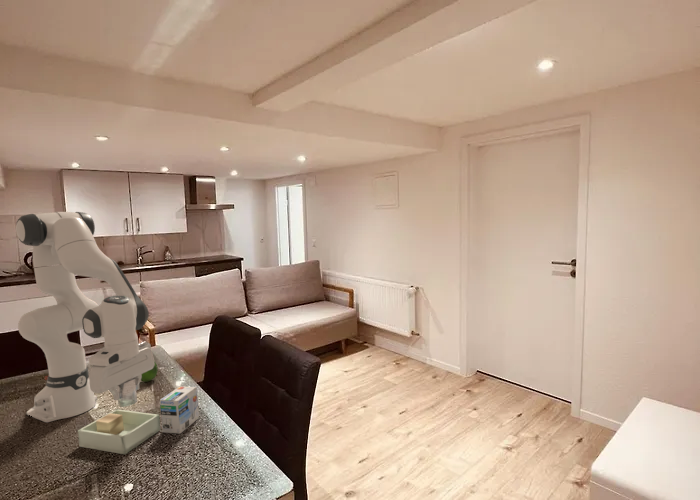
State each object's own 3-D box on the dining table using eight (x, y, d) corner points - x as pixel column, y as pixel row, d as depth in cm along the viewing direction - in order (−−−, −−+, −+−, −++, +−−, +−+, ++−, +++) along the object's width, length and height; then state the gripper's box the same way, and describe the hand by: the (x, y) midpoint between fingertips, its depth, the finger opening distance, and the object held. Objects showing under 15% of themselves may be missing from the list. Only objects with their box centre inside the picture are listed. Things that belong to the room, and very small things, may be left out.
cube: (110, 438, 122) (108, 422, 121) (97, 436, 123) (96, 421, 123) (123, 430, 127) (122, 414, 126) (111, 428, 128) (110, 413, 128)
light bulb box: (180, 434, 124) (177, 400, 123) (161, 433, 126) (158, 400, 125) (200, 417, 135) (197, 386, 134) (182, 416, 136) (179, 385, 135)
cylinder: (127, 407, 118) (125, 384, 118) (114, 406, 120) (112, 383, 119) (141, 399, 123) (138, 377, 123) (128, 398, 125) (126, 376, 124)
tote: (79, 446, 120) (77, 430, 120) (118, 423, 133) (116, 409, 133) (124, 454, 115) (123, 437, 114) (160, 429, 128) (159, 414, 127)
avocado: (133, 384, 166) (130, 355, 165) (149, 376, 173) (146, 349, 172) (147, 386, 163) (144, 357, 162) (162, 378, 170) (160, 351, 169)
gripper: (141, 339, 131) (145, 380, 132) (83, 361, 112) (88, 409, 113) (157, 339, 129) (161, 381, 130) (100, 362, 110) (105, 411, 111)
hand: (127, 394), depth 121 cm, fingers closed on cylinder, 5 cm apart
